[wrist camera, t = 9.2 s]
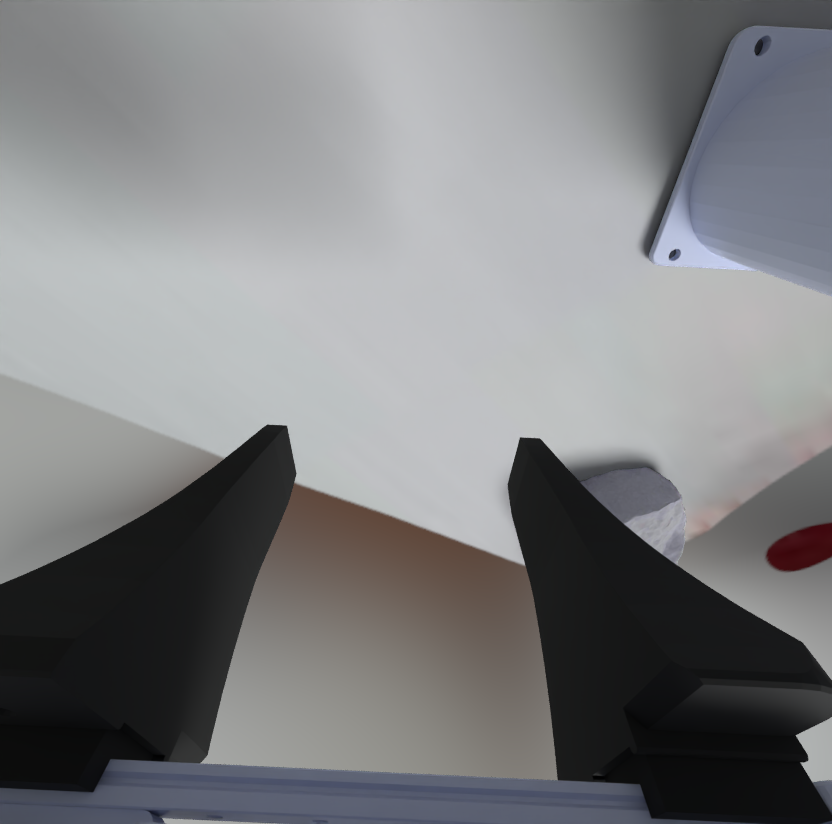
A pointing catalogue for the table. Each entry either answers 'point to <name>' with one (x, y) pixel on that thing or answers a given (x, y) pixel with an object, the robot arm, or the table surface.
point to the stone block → (644, 506)
